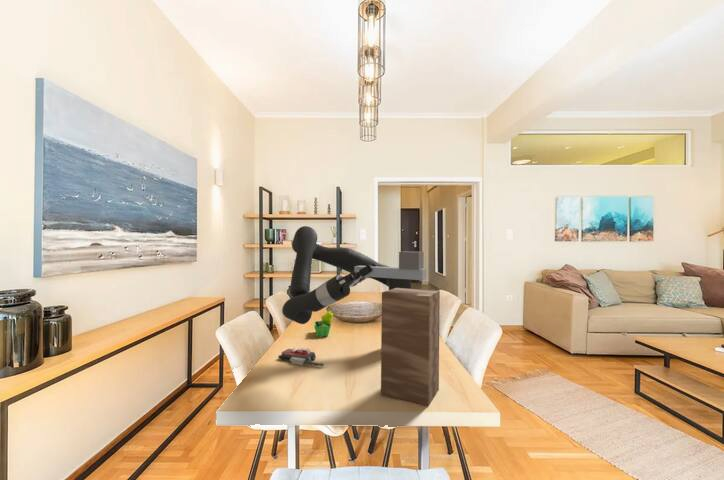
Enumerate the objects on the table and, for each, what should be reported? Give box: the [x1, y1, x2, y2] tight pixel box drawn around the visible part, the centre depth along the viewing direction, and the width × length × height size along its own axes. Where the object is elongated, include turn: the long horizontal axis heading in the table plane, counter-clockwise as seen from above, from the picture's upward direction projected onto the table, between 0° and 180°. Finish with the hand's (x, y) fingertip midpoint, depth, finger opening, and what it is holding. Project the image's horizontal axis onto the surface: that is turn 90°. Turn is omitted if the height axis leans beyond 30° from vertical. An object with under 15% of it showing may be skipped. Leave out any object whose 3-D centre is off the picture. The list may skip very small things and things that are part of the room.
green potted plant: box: [314, 310, 334, 338], centre depth 164 cm, size 11×9×11 cm
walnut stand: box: [380, 288, 441, 407], centre depth 102 cm, size 12×14×30 cm
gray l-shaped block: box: [354, 251, 427, 281], centre depth 105 cm, size 5×22×8 cm, turn 64°
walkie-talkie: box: [278, 347, 325, 367], centre depth 128 cm, size 9×4×20 cm
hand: (373, 267), depth 107 cm, fingers closed on gray l-shaped block, 4 cm apart
